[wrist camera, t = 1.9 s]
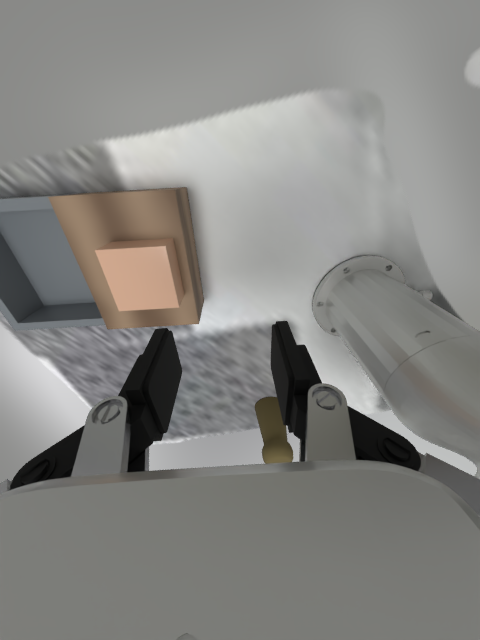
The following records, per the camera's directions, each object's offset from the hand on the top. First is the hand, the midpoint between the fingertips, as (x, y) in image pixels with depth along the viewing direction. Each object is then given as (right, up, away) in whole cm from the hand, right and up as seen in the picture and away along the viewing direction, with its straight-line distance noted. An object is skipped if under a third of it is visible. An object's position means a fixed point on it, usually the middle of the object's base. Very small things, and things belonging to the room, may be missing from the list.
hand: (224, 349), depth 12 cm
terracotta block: (-9, +7, +11) cm, 16 cm away
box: (-22, +9, +16) cm, 29 cm away
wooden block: (-10, +10, +16) cm, 22 cm away
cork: (+7, -16, +34) cm, 38 cm away
